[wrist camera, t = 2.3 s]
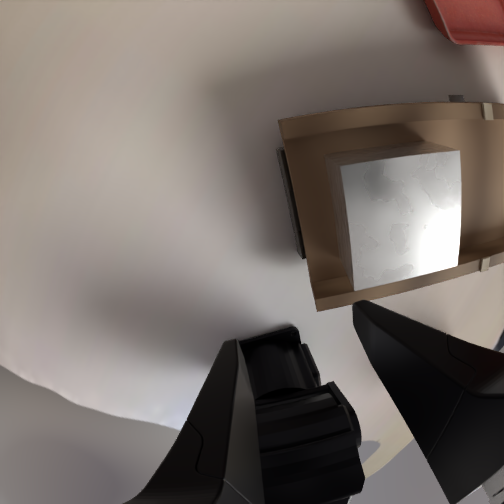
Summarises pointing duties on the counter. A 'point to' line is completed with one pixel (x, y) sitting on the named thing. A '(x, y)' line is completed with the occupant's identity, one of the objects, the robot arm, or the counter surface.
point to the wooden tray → (387, 133)
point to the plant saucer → (469, 20)
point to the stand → (291, 201)
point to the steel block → (396, 210)
